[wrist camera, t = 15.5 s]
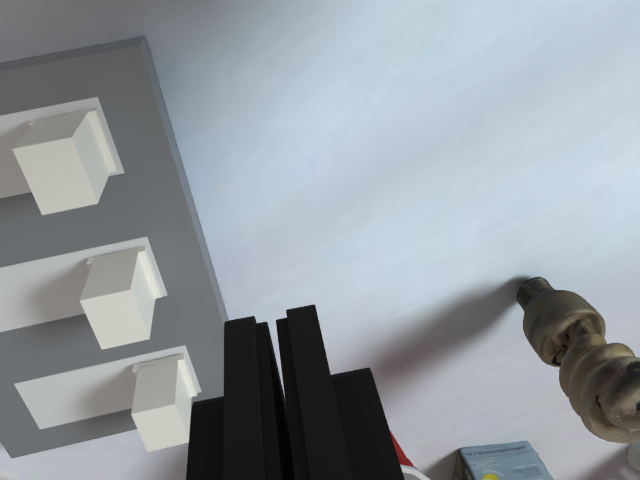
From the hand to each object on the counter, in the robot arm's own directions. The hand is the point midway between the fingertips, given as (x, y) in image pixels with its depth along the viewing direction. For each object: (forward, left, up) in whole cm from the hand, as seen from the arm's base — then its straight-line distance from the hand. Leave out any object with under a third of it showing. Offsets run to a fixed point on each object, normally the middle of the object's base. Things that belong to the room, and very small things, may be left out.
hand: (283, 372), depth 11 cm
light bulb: (+22, +19, -28) cm, 41 cm away
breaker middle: (+11, -10, -25) cm, 29 cm away
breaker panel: (+11, -14, -28) cm, 33 cm away
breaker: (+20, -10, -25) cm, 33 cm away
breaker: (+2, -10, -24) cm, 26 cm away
